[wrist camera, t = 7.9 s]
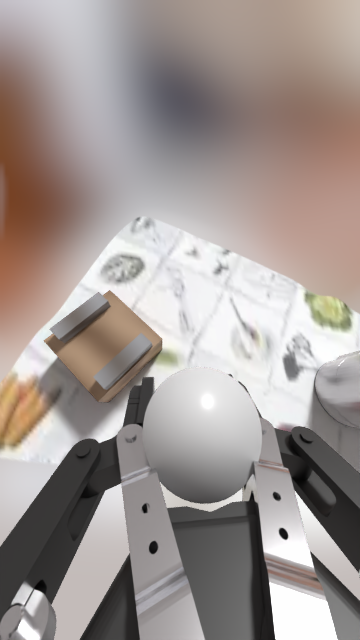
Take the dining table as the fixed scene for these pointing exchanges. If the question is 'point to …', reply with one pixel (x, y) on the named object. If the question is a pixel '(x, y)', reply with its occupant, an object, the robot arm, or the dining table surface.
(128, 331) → the display plinth
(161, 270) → the dining table surface
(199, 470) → the ball-topped blue cylinder
